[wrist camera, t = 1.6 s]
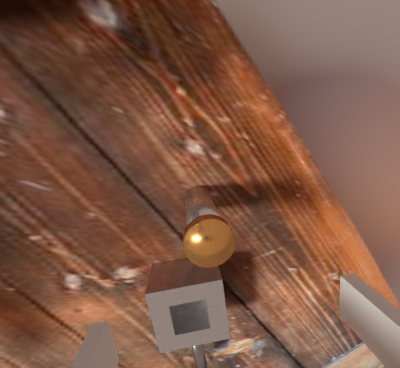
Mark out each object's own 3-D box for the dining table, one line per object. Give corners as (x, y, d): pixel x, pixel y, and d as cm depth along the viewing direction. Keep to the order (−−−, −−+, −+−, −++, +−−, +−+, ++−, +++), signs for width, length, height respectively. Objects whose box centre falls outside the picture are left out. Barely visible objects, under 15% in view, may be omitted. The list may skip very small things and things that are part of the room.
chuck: (151, 264, 33) (145, 294, 27) (214, 253, 34) (222, 279, 28) (173, 355, 38) (171, 397, 32) (227, 343, 39) (236, 383, 33)
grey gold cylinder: (180, 186, 31) (179, 225, 17) (210, 181, 31) (232, 216, 17) (185, 214, 32) (188, 271, 18) (214, 209, 32) (237, 262, 18)
